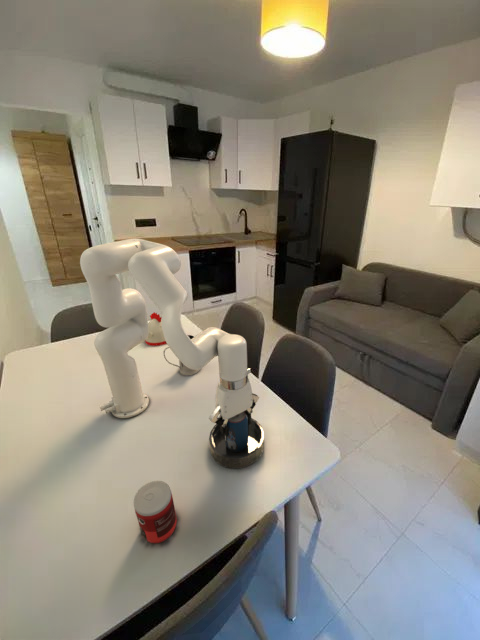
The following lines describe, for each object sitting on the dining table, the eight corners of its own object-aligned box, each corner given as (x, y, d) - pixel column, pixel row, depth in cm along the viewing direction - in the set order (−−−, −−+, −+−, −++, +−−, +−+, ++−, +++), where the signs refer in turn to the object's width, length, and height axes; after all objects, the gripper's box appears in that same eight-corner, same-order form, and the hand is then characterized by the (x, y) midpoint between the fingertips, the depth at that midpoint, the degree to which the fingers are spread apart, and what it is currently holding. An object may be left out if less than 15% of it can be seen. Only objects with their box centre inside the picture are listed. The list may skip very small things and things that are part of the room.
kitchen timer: (157, 348, 142) (152, 321, 136) (139, 341, 149) (134, 314, 143) (178, 337, 153) (175, 311, 146) (161, 330, 160) (157, 305, 153)
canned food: (147, 511, 71) (139, 481, 67) (180, 508, 72) (174, 478, 67) (137, 546, 64) (127, 515, 60) (174, 543, 65) (167, 512, 60)
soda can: (246, 434, 93) (246, 405, 88) (249, 452, 86) (249, 421, 81) (225, 437, 92) (223, 407, 87) (226, 455, 85) (224, 425, 80)
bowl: (227, 480, 79) (226, 468, 77) (201, 441, 91) (200, 430, 89) (274, 450, 88) (274, 439, 86) (245, 418, 100) (244, 408, 98)
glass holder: (203, 370, 125) (200, 340, 119) (170, 382, 118) (165, 350, 111) (195, 361, 132) (191, 332, 125) (164, 372, 124) (158, 341, 118)
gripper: (252, 361, 86) (253, 408, 93) (198, 383, 77) (203, 433, 84) (267, 374, 81) (267, 422, 88) (211, 398, 71) (216, 450, 79)
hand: (236, 427), depth 86 cm, fingers closed on soda can, 7 cm apart
